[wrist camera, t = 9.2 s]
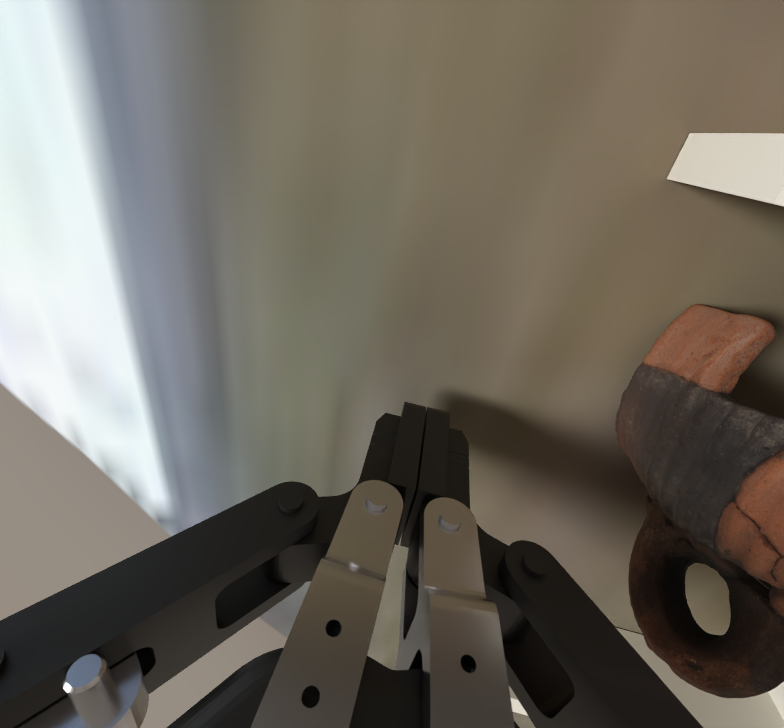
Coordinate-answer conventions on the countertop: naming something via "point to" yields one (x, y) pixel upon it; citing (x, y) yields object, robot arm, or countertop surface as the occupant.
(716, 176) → the box
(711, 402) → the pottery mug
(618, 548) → the countertop surface
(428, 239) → the countertop surface
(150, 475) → the countertop surface
